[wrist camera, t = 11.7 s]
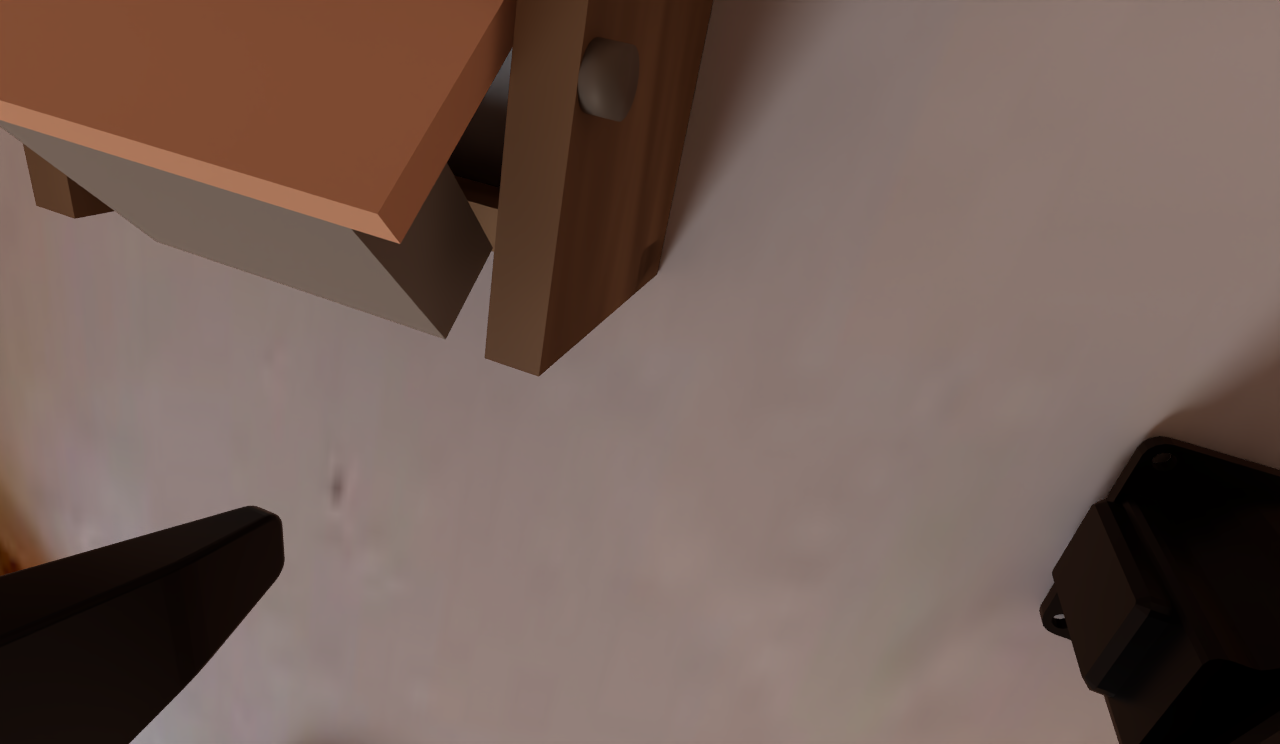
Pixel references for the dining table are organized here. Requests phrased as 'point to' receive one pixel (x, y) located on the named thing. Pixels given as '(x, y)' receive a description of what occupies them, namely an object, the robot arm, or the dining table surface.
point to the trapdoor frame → (562, 167)
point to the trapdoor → (272, 133)
